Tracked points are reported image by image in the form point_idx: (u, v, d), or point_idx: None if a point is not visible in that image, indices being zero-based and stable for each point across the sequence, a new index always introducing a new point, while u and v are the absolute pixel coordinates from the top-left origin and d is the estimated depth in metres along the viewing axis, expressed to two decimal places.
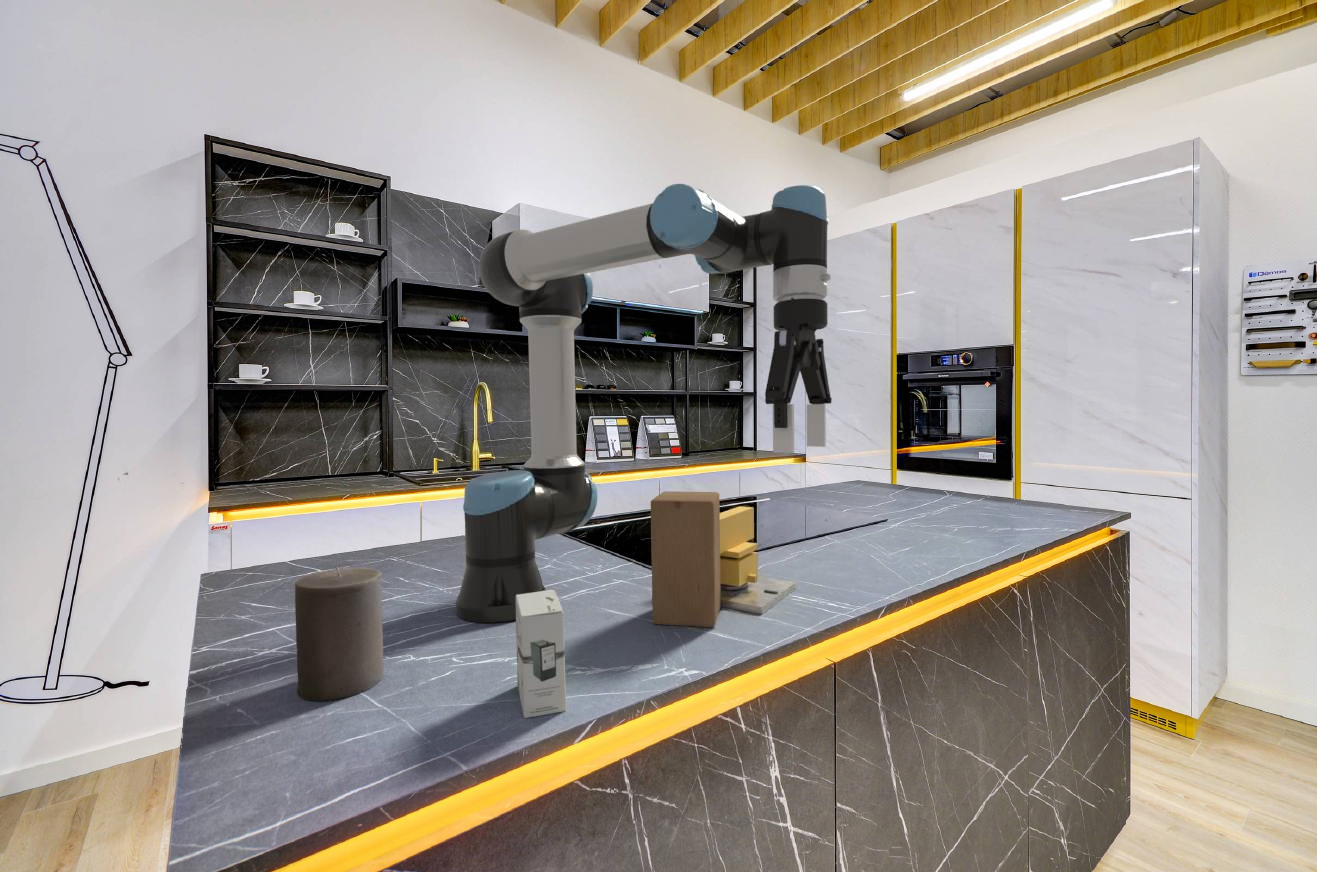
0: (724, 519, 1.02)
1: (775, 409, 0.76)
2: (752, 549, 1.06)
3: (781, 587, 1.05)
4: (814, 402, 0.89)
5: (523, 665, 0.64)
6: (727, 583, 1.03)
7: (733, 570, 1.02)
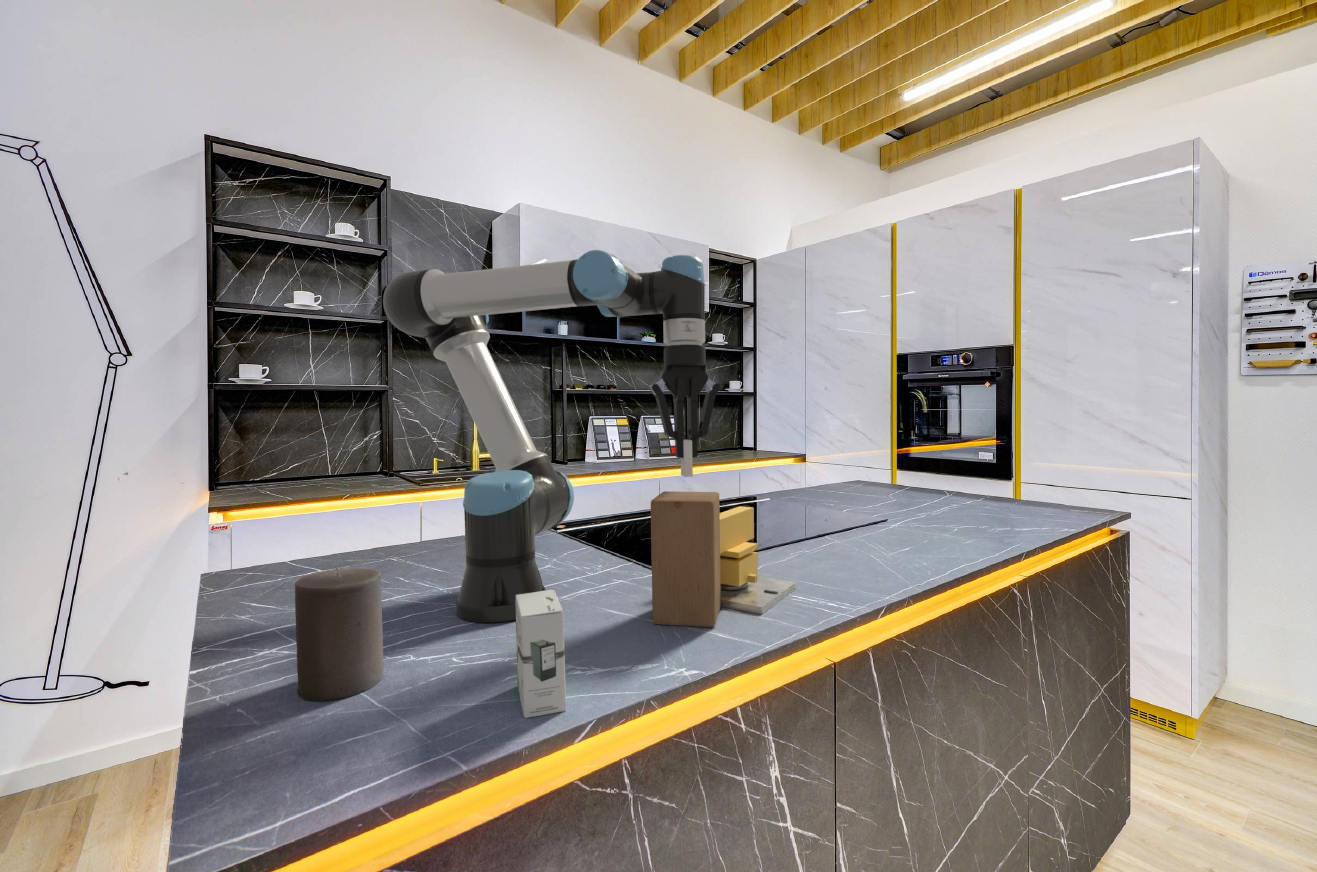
0: (724, 519, 1.02)
1: (675, 444, 1.04)
2: (752, 549, 1.06)
3: (781, 587, 1.05)
4: (689, 438, 1.05)
5: (523, 665, 0.64)
6: (727, 583, 1.03)
7: (733, 570, 1.02)
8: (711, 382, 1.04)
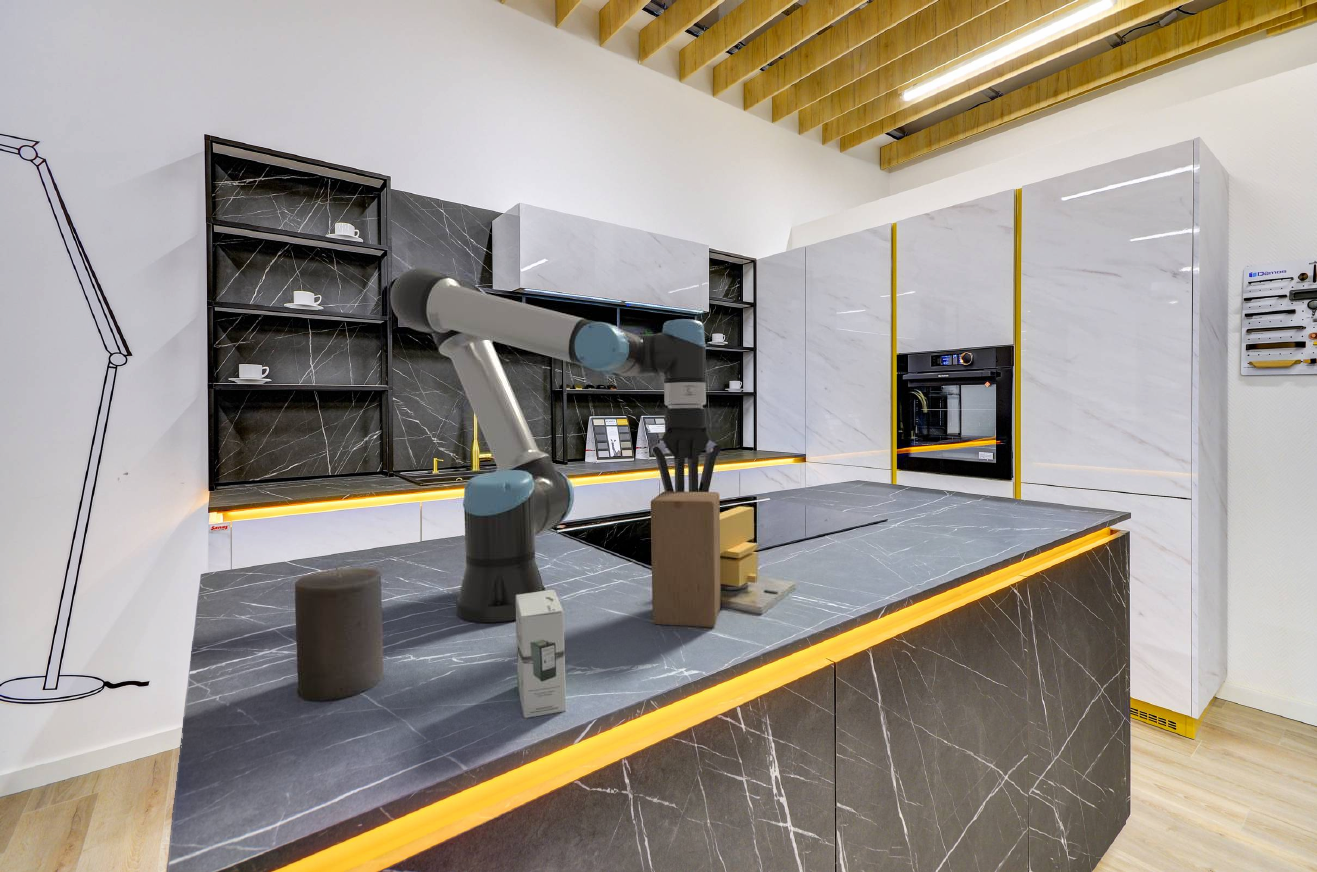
0: (724, 519, 1.02)
1: None
2: (752, 549, 1.06)
3: (781, 587, 1.05)
4: None
5: (523, 665, 0.64)
6: (727, 583, 1.03)
7: (733, 570, 1.02)
8: (712, 443, 1.05)
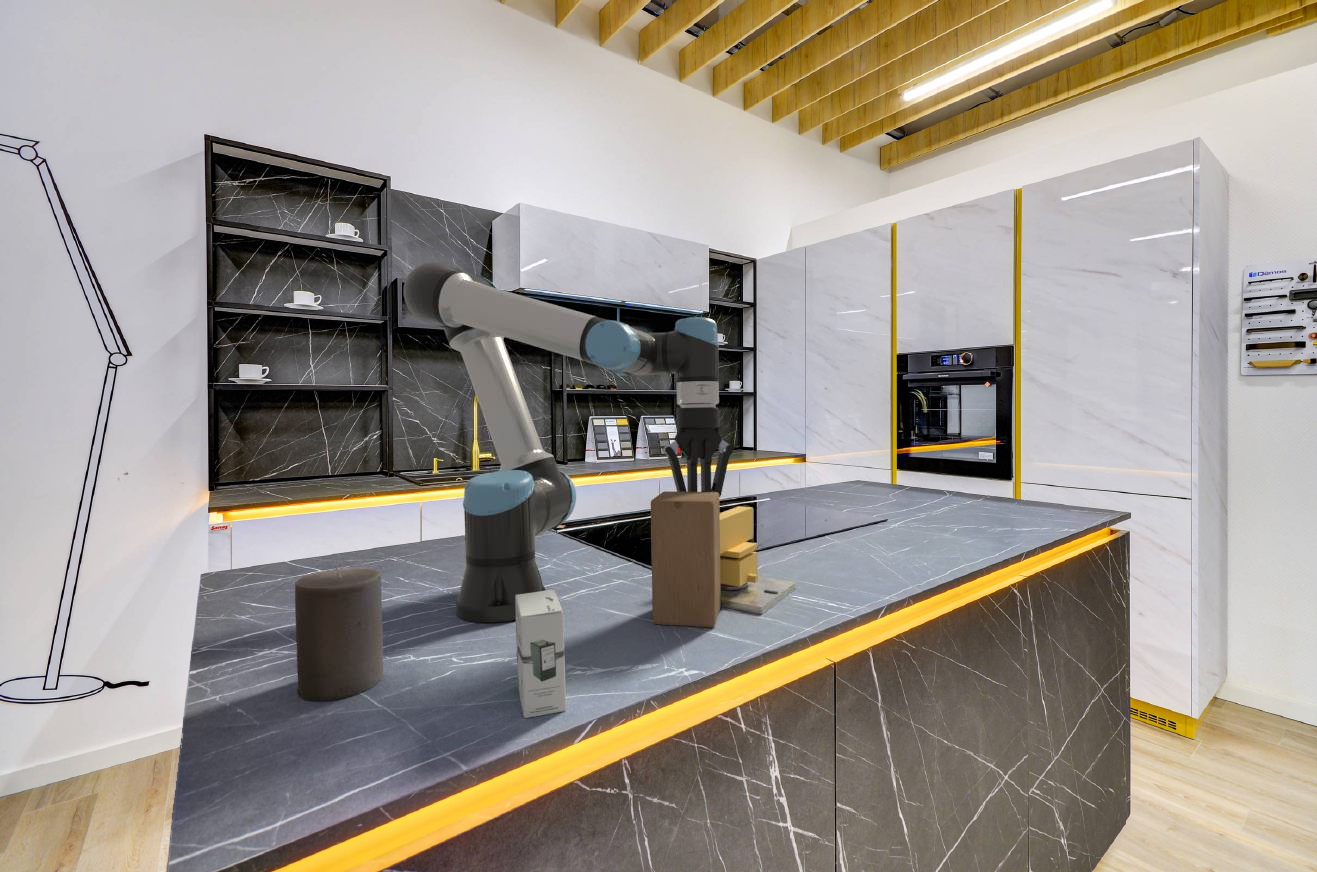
0: (725, 519, 1.02)
1: None
2: (752, 549, 1.06)
3: (781, 587, 1.05)
4: None
5: (523, 665, 0.64)
6: (727, 583, 1.03)
7: (734, 570, 1.02)
8: (725, 443, 1.03)
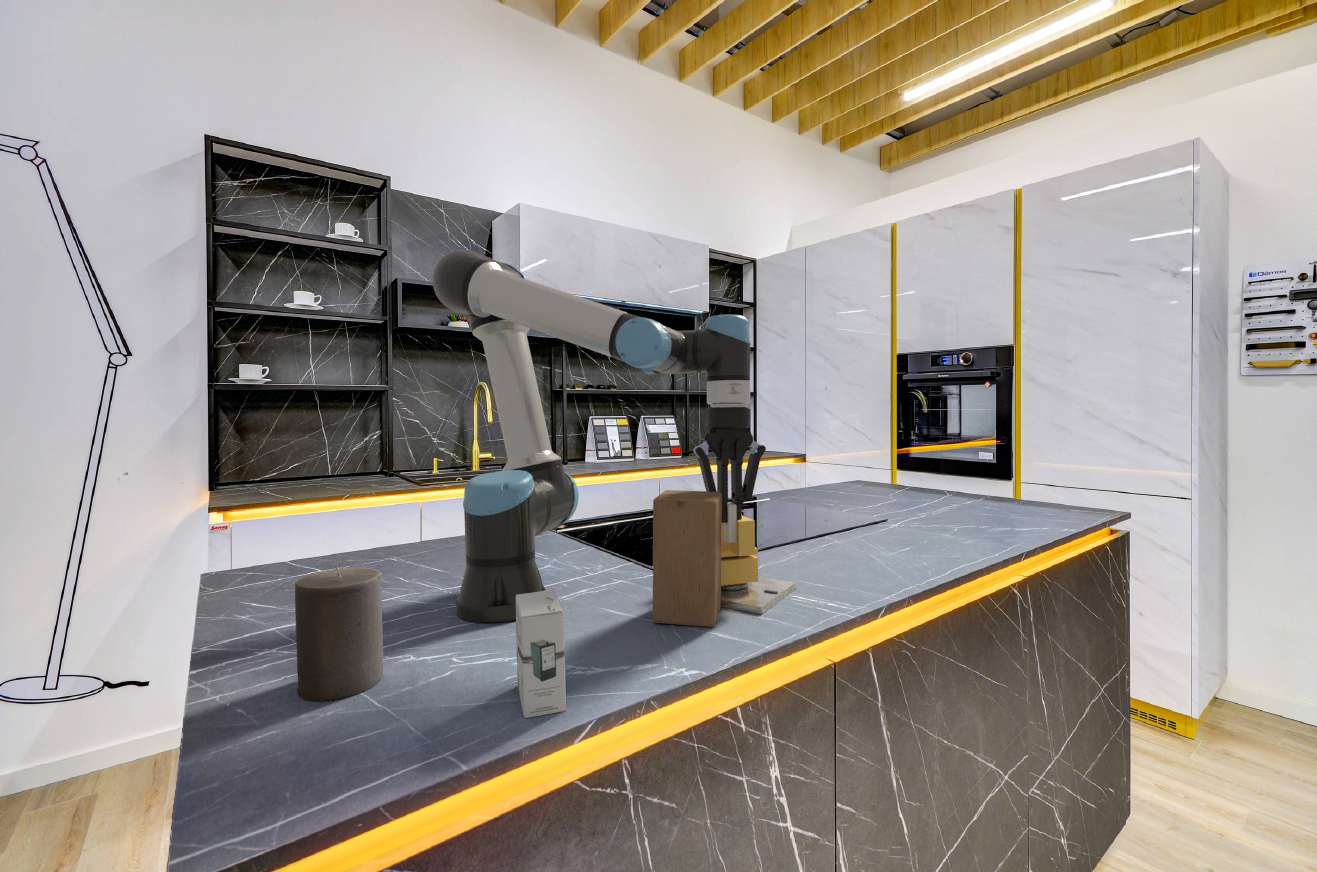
0: None
1: None
2: None
3: (781, 587, 1.05)
4: (733, 501, 1.01)
5: (523, 665, 0.64)
6: (746, 581, 1.04)
7: (752, 567, 1.04)
8: (756, 444, 1.01)
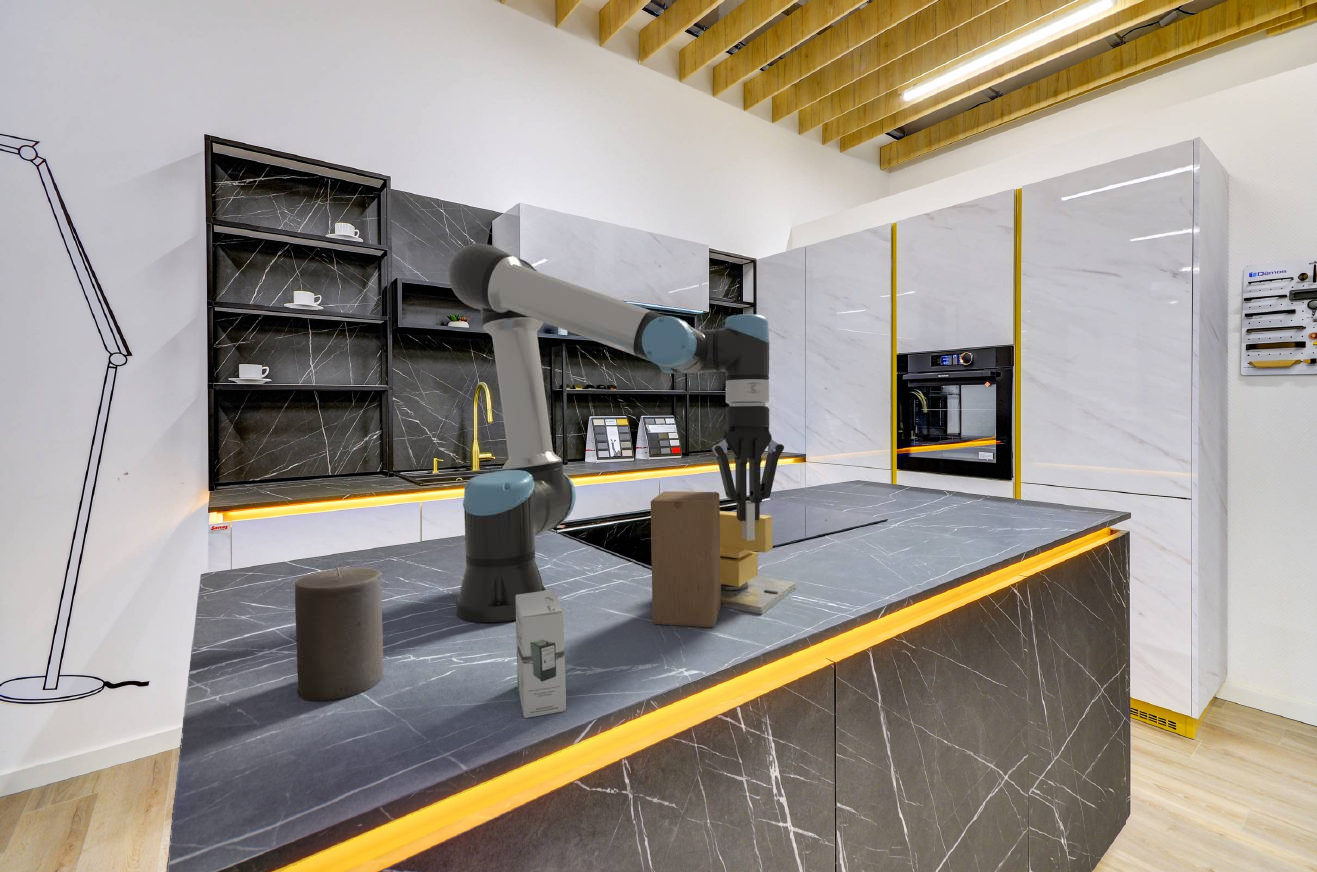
0: None
1: None
2: None
3: (781, 587, 1.05)
4: (751, 500, 1.02)
5: (523, 665, 0.64)
6: (752, 577, 1.06)
7: (755, 562, 1.07)
8: (774, 443, 1.01)
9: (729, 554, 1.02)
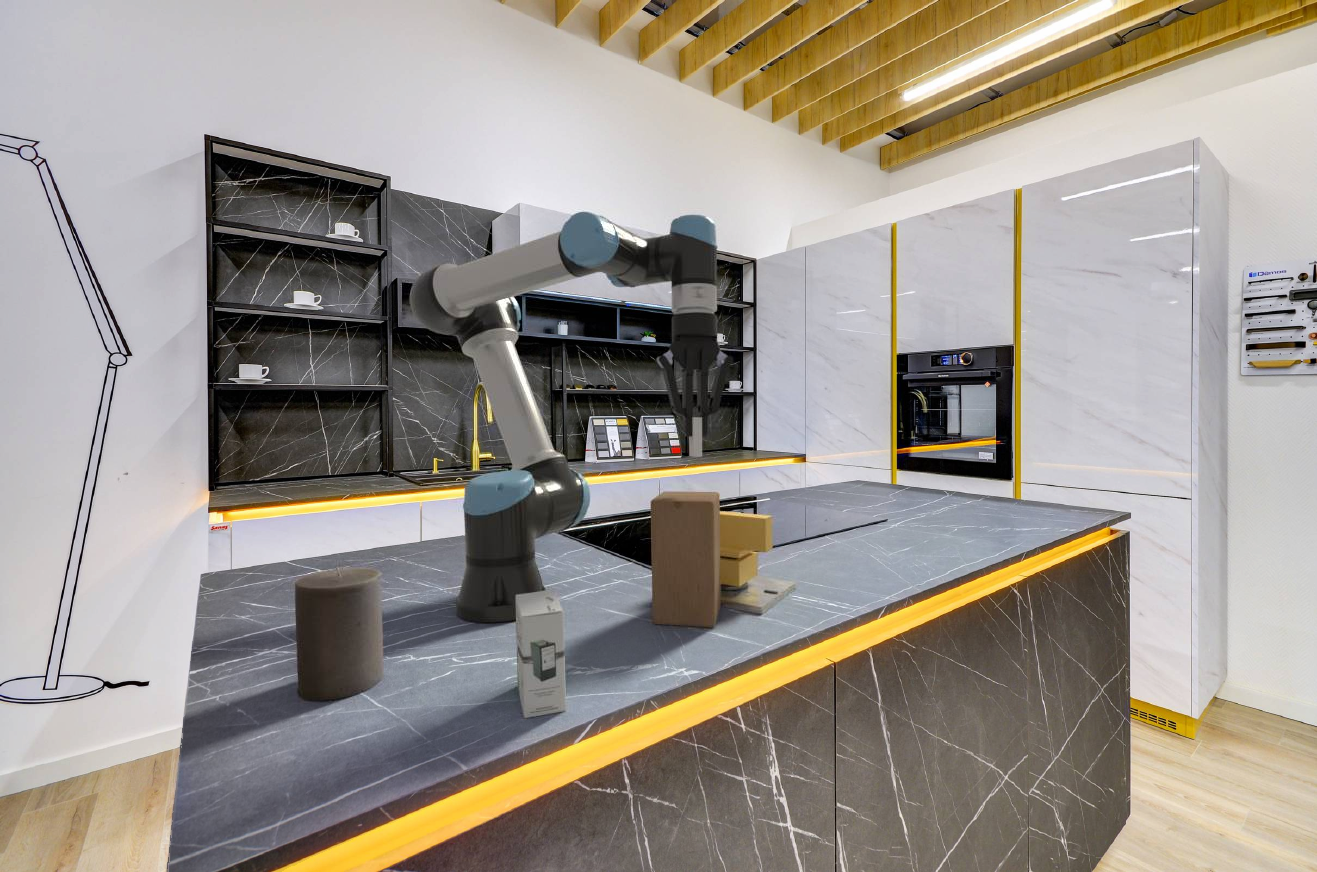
0: None
1: (683, 421, 0.96)
2: None
3: (781, 587, 1.05)
4: (698, 415, 0.97)
5: (523, 665, 0.64)
6: (752, 577, 1.06)
7: (755, 562, 1.07)
8: (723, 355, 0.96)
9: (729, 554, 1.02)
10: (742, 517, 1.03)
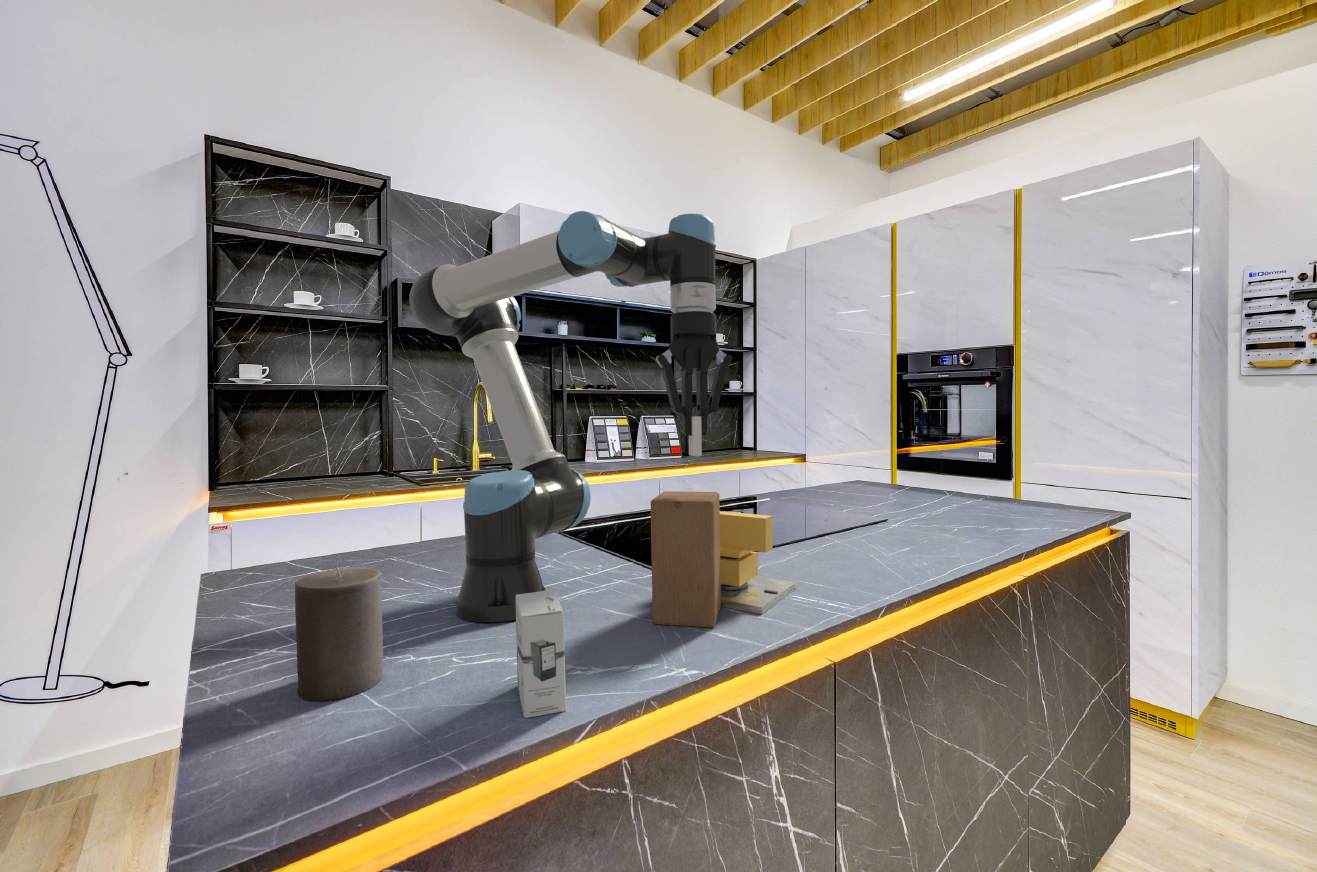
0: None
1: None
2: None
3: (781, 587, 1.05)
4: (698, 414, 0.96)
5: (523, 665, 0.64)
6: (752, 577, 1.06)
7: (755, 562, 1.07)
8: (722, 353, 0.96)
9: (729, 554, 1.02)
10: (742, 517, 1.03)
